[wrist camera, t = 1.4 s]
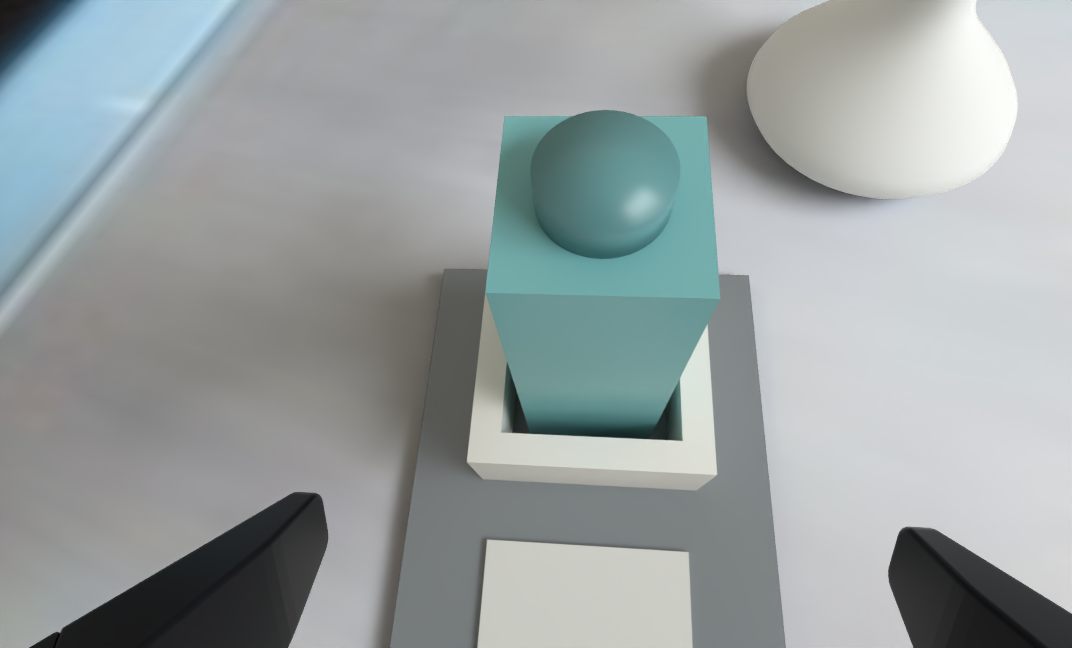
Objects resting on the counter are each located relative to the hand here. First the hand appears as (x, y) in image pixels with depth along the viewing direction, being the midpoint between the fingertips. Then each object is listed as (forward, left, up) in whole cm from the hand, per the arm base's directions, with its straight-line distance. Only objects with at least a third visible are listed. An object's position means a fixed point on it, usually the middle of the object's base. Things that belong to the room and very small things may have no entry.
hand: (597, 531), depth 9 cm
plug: (+5, +4, -12) cm, 14 cm away
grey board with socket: (+1, +1, -13) cm, 13 cm away
